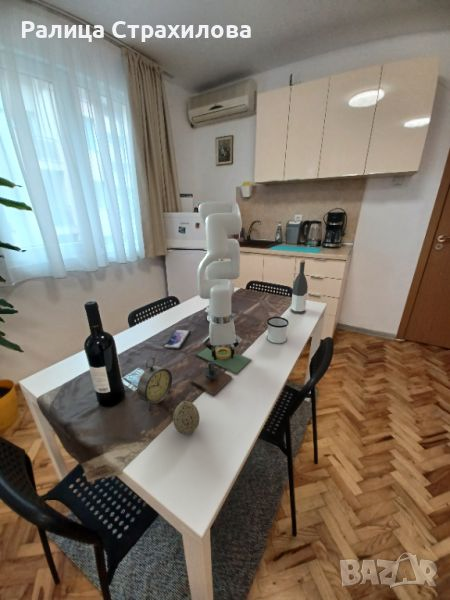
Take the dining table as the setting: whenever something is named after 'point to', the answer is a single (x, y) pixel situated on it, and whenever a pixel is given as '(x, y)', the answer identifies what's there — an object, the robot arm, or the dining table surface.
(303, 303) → the wine bottle
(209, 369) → the stand
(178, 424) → the decorative egg
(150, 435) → the dining table surface
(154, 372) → the alarm clock
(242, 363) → the mat
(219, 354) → the ring
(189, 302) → the dining table surface
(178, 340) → the smartphone
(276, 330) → the mug
